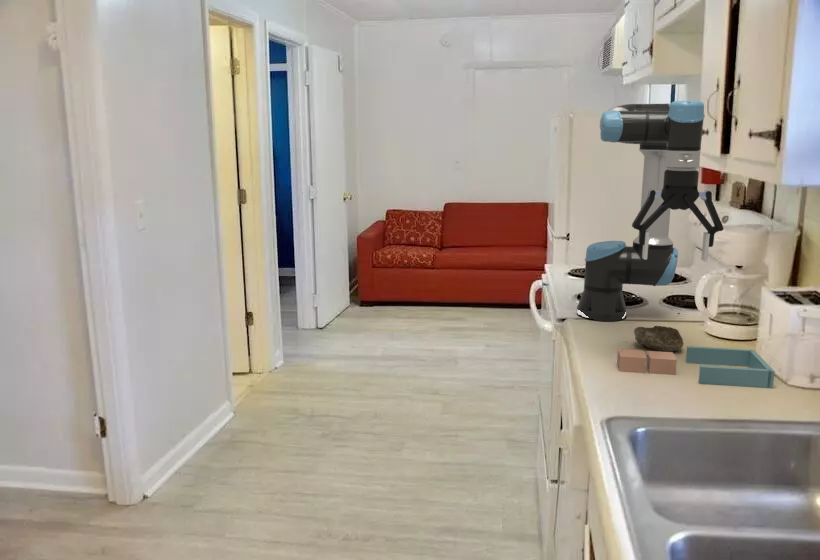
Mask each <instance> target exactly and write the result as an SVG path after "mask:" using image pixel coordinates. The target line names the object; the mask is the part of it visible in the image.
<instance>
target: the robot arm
mask: <svg viewBox="0 0 820 560" xmlns="http://www.w3.org/2000/svg"><path fill="white" fill-rule="evenodd" d="M704 119H705V103H704V102H703V101H700V100H675V101H672V102H671V103H627V104H622V105H617V106H614V107H612V108H611V107H610V108H609V109H608V110H606V111H604V112H602V115H601V117H600V121H599V128H600V132H599V133H600V140H601V141H602V142H607V143H608V142H609V143H622V144H628V145H639V149H638V150H639V152H641V154H642V155H643V169H642V170H643V172H642V184H641V197H640V198H641V199H640V210H639V212H638V213H637V216H635V219H634V220H633V222H632V223H631V226H632V228H633V230H637V231H638V235H637V237H635V238H634V239H633V240H632V246H629V245H628V246H627V244H626V242H625V241H622V240H606V241H599V242H593V243H591V244H589V245H588V246H587V247H586V253H585V259H584V261H585V266H584V267H585V268H584V269H585V270H584V282H583V292H582V295H581V296H580V299H579V301H578V303H577V306H576V310H577V309H578V310H580V311H581V312H583V313H584V314H585V315H586V316H588V317H589V318H590V319H594V320H593V321H597V320H598V321H599V322H615V321H617V322H619V321H622V320H621V319H622V317H623V316H624V314H625V312H626V309H627V306H626V303H625V299H624V295H623V285H643V286H653V287H656V286H669V285H670V284H671V283H672V281H673V279H674V277H675V274H676V269H677V264H678V256H679V251H678V249H677V248H676V247H674V242H673V241H672V239H671V238H670V236H669V232H670V219H671V210H675V211H677V210H681V211H686V210H688V209H689V210H690V211H691V212H692V213H693V214H694V216H695V217H696V218H697V219H698V221H699V223H701V225H702V226H703V227H704V228H705V230H706V231H707V232H705V231H704V232H703V238H702V246H701V257H700V258H701V259H700V260H701V261H703V262H708V257H709V248H713V246H714V243H715V242H714V241H715V234H716V233H719V232H723V230H724V226H723V224H722V221H721V219H720V216H719V214H718V212H717V209H716V207H715V204H714V202H713V193H712V191H710V190H709V189H707V190H704V191H699V189H698V187H699V178H700V177H699V176H700V175H699V173H700V172H699V171H698V170H697V169H699V168H700V163H701V151H702V150H701V149H702V139H703V138H702V137H703V129H704ZM699 197H700V199H701V200H702V201H703V202H704V204H705V206H706V209H707V211H708V214H709V216H710V218H711V220H712V223H713V225H714V226H713V225H712V224H711V223H710V221H709V220H708V219H707V218H706V216H705V215H704V214H703V213H702V211H701V210H700V209H699V207H698V205H696V203H695V202H696V201H697V200H698V198H699ZM590 319H589V320H590Z"/></svg>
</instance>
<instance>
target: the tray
mask: <svg viewBox="0 0 820 560" xmlns="http://www.w3.org/2000/svg"><path fill="white" fill-rule="evenodd" d="M685 363H687V364H699V374H698V383H699V384H701V385H716V386H733V387H734V386H735V387H750V388H762V389H763V388H764V389H766V388H767V389H774V382H775V381H774V380H775V370H774V369H773V368H772V366H770V364H768V362H767V361H766V360H765V359H764V358H763V357H761V356H760V355H759V354H758V352H757V351H756V350H755V349H748V348H747V349H744V348H727V347H725V348H724V347H711V346H710V347H708V346H707V347H706V346H691V345H690V346H686V355H685ZM706 364H707V365H706ZM719 365H720V366H719ZM732 366H735V367H732ZM736 366H738V367H736Z"/></svg>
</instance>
